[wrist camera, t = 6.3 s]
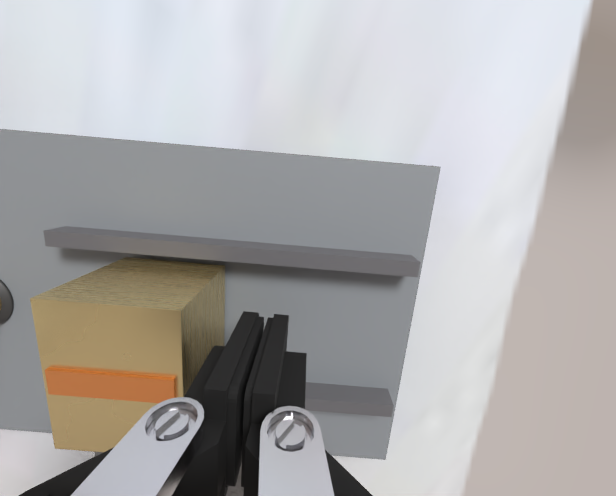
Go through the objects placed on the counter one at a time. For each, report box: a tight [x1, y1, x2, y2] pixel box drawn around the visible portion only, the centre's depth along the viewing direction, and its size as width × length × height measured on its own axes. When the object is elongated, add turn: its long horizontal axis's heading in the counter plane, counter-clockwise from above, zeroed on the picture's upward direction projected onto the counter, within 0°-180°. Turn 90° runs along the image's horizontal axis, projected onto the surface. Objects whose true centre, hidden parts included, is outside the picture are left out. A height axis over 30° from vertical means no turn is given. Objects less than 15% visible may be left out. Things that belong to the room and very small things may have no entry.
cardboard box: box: [30, 257, 225, 452], centre depth 10 cm, size 5×4×4 cm
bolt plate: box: [0, 129, 440, 460], centre depth 11 cm, size 14×21×6 cm, turn 85°
